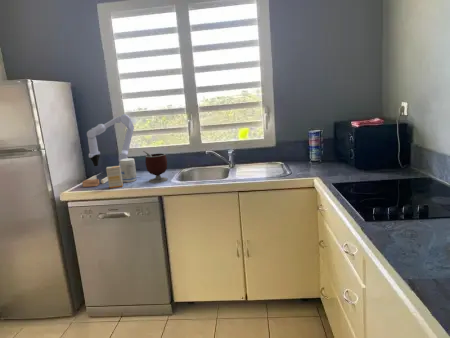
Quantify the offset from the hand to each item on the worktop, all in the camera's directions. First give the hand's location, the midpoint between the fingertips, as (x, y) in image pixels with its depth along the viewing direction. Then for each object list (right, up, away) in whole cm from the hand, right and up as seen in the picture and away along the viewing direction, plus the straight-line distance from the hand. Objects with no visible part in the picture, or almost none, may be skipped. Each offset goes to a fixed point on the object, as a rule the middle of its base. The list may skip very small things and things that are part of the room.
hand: (96, 165), depth 252 cm
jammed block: (+3, -13, -18) cm, 23 cm away
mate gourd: (+47, -10, -17) cm, 51 cm away
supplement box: (+22, -14, -26) cm, 37 cm away
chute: (+4, -11, -6) cm, 13 cm away
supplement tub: (+27, -10, -12) cm, 31 cm away
